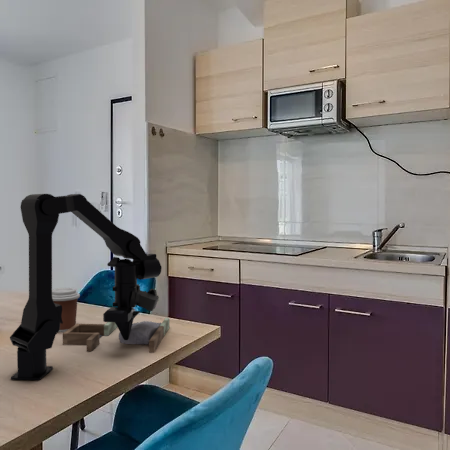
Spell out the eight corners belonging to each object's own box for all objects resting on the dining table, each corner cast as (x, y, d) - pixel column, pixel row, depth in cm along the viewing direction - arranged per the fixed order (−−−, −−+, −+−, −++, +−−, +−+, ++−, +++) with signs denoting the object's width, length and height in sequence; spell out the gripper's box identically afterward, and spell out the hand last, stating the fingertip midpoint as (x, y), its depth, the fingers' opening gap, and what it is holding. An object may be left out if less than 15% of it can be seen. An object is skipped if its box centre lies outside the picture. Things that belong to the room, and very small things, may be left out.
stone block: (116, 350, 111) (151, 345, 109) (113, 332, 111) (147, 327, 110) (133, 338, 123) (165, 333, 121) (130, 322, 123) (162, 317, 121)
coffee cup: (86, 326, 127) (86, 288, 127) (65, 334, 118) (65, 293, 118) (62, 323, 130) (62, 286, 130) (41, 331, 122) (40, 291, 121)
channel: (153, 352, 104) (153, 340, 104) (54, 350, 105) (54, 339, 105) (169, 327, 126) (169, 317, 126) (87, 326, 127) (87, 316, 127)
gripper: (147, 289, 99) (147, 352, 100) (162, 276, 118) (163, 330, 118) (102, 288, 100) (102, 351, 100) (124, 276, 118) (125, 329, 119)
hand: (126, 339), depth 110 cm, fingers closed
